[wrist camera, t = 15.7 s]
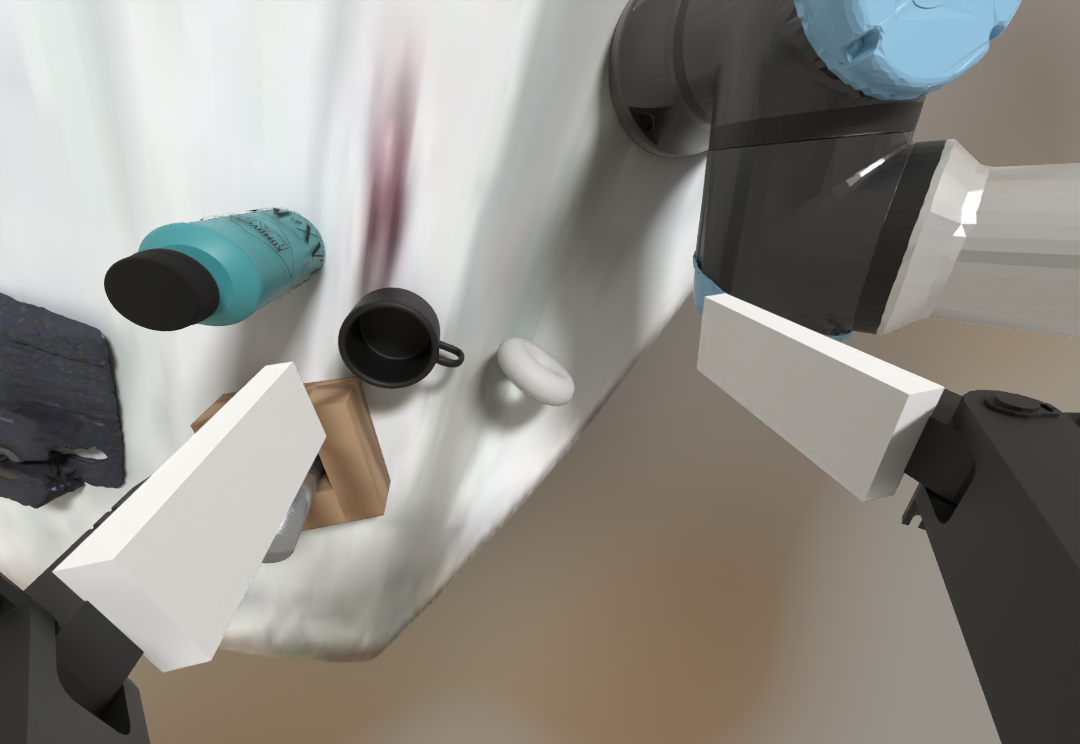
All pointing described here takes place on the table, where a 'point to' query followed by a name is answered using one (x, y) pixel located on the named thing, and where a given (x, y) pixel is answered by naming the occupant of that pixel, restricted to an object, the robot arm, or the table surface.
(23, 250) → the table surface
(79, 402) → the dark slate chunk
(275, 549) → the pin
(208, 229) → the beverage bottle
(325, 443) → the block
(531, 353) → the donut
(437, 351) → the mug
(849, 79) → the robot arm
